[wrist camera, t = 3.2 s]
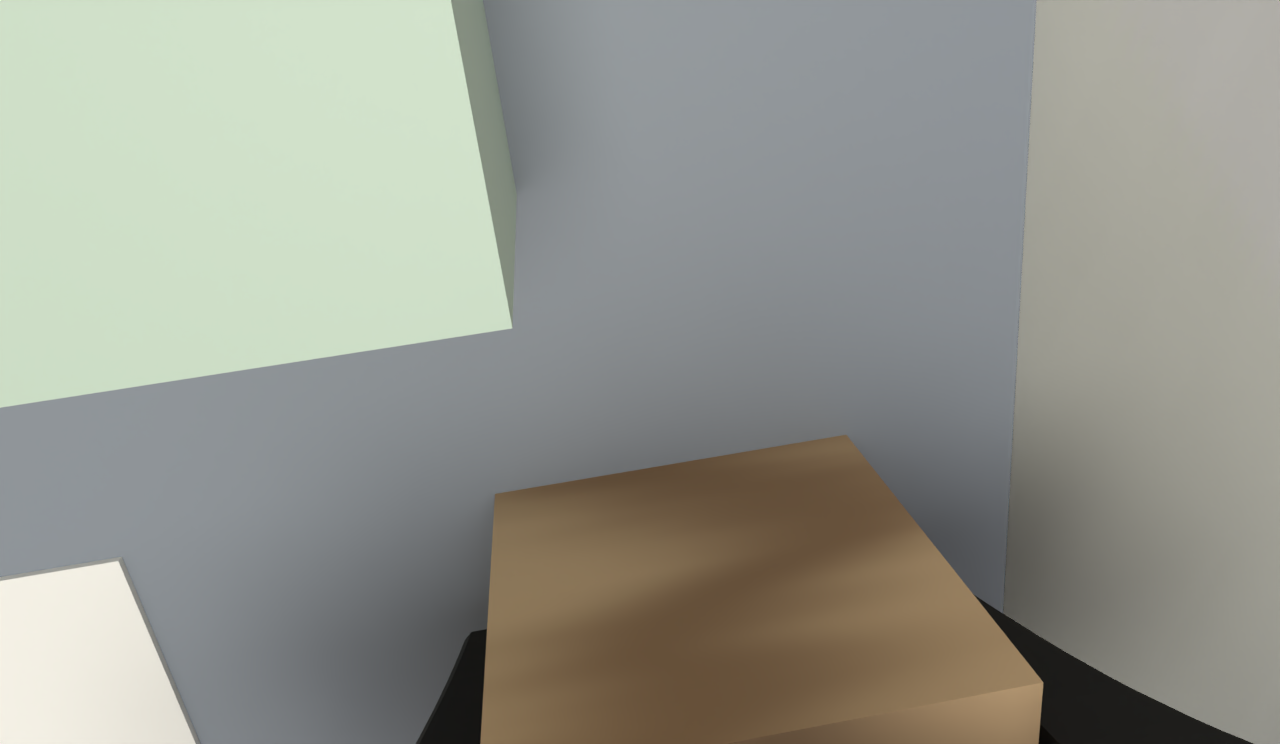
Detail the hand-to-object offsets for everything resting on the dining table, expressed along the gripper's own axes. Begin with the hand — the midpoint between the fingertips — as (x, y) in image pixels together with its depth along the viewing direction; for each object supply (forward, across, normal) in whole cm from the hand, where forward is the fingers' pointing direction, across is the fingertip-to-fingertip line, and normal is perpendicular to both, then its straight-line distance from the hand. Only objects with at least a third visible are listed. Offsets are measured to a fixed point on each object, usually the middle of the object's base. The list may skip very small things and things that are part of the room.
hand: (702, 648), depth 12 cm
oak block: (+1, 0, 0) cm, 1 cm away
